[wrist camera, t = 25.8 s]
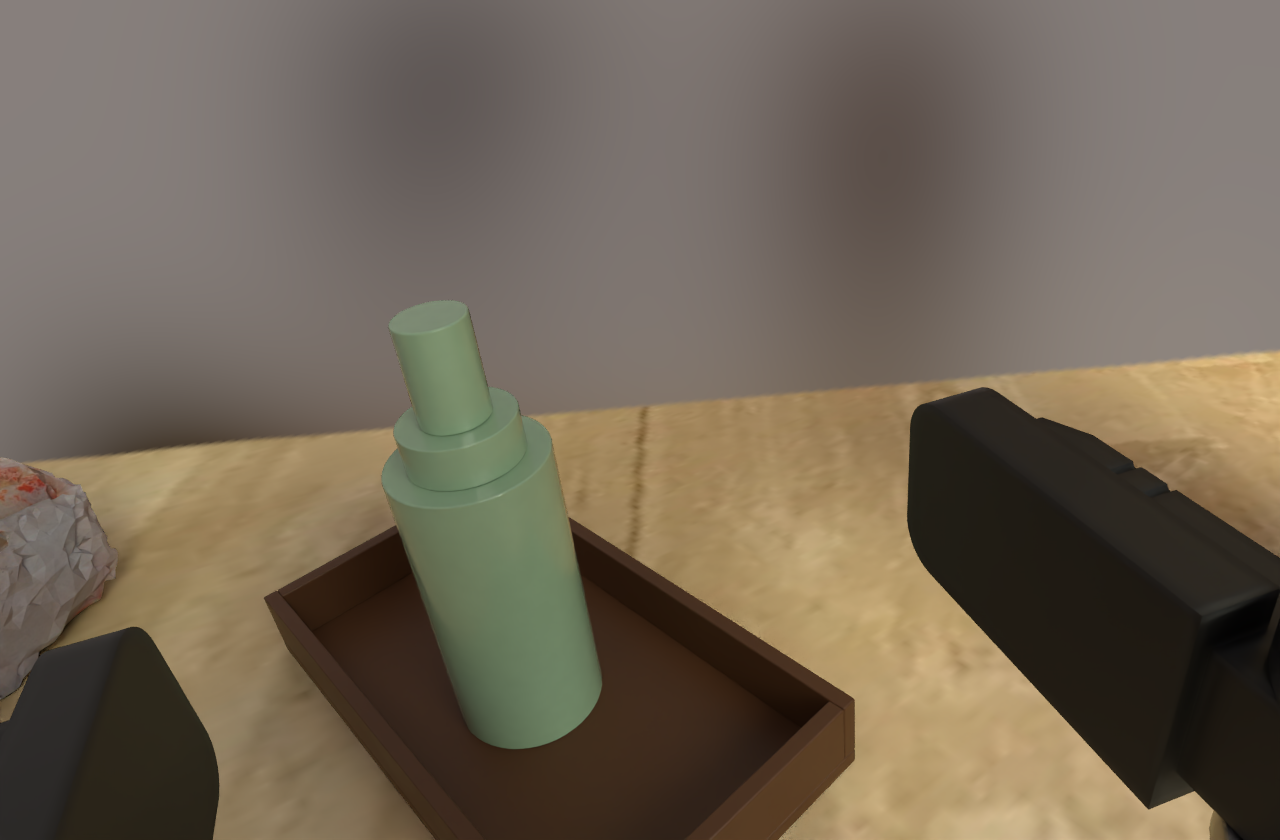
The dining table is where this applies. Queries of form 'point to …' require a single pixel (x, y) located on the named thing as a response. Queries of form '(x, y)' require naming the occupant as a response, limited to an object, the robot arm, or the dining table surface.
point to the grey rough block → (44, 564)
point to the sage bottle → (488, 539)
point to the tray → (609, 736)
